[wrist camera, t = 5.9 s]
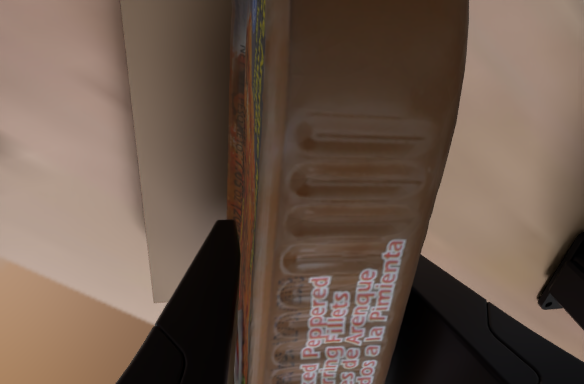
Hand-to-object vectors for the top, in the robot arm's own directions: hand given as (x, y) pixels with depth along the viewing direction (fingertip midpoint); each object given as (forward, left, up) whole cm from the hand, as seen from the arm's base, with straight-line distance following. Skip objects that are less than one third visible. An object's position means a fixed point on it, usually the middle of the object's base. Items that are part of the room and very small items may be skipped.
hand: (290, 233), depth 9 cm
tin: (0, 0, -5) cm, 5 cm away
